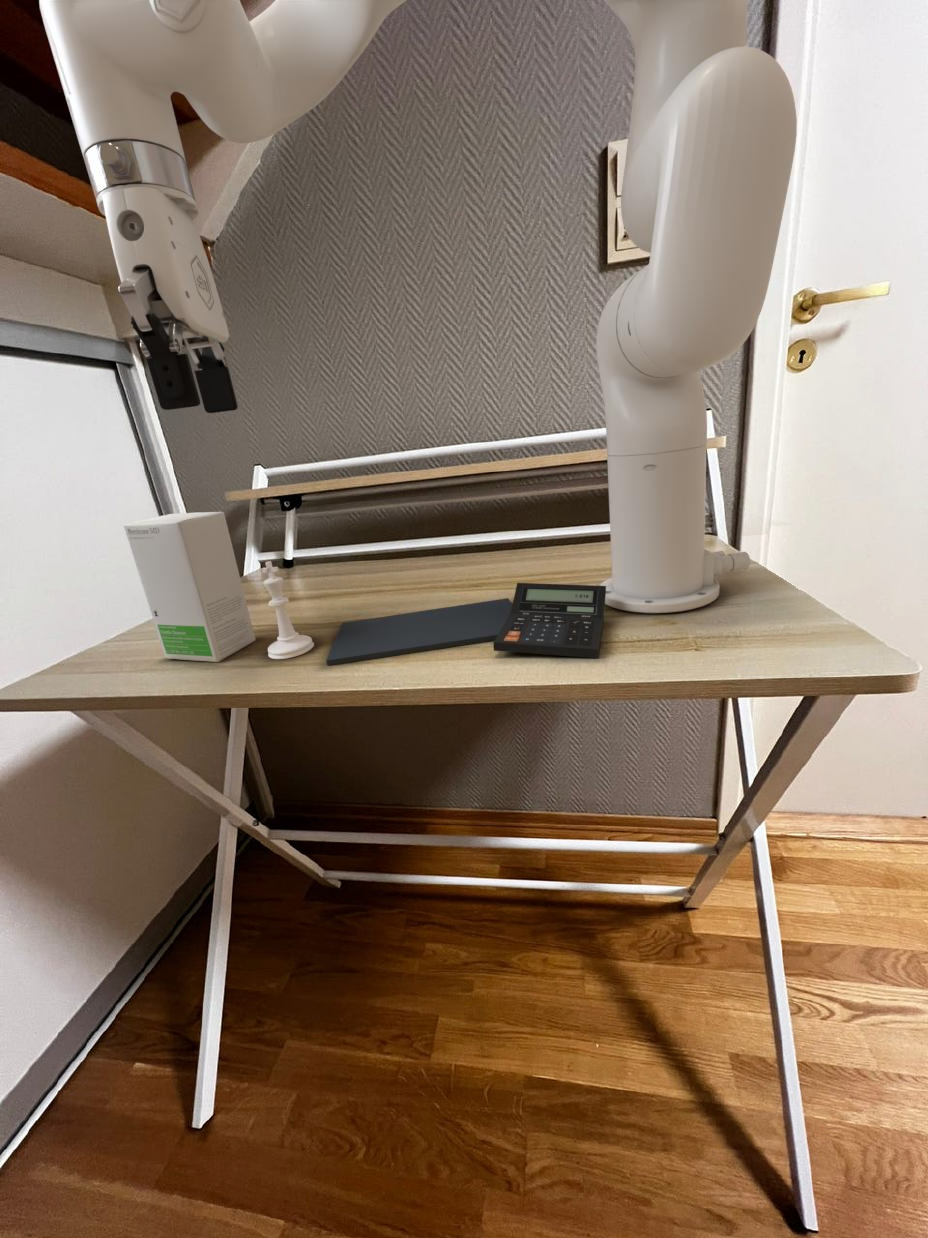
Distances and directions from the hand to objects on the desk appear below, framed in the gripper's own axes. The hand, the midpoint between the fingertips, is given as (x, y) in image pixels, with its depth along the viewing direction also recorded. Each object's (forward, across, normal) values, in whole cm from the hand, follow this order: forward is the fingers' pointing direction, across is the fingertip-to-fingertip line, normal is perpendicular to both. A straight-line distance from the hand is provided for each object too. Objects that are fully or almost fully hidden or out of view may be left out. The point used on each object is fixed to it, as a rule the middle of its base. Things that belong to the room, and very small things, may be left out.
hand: (203, 409), depth 50 cm
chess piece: (+25, 0, -2) cm, 25 cm away
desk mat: (+25, 0, -17) cm, 30 cm away
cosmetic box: (+25, +4, +8) cm, 27 cm away
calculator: (+25, -6, -30) cm, 40 cm away
